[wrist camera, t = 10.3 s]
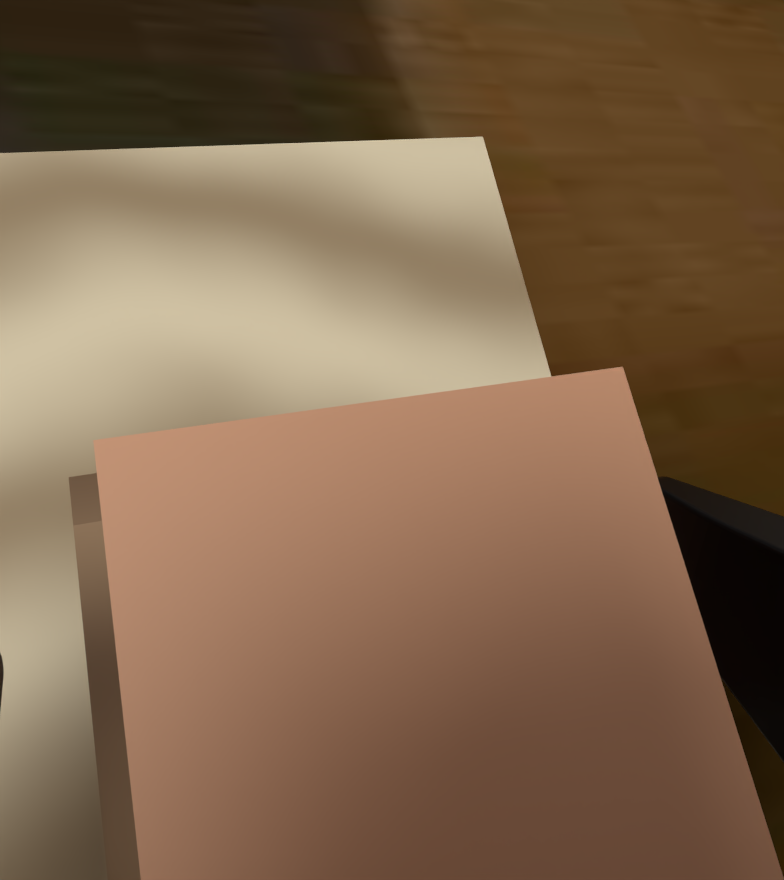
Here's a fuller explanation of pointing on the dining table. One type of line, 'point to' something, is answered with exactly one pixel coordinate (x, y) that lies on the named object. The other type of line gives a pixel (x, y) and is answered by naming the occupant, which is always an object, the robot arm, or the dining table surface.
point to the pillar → (419, 647)
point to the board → (200, 388)
